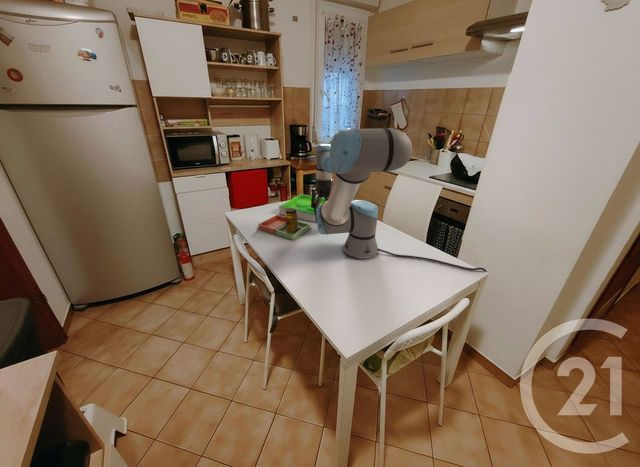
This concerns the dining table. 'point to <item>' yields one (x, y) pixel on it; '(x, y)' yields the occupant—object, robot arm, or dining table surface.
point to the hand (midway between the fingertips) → (323, 222)
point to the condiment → (291, 221)
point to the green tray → (292, 236)
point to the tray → (301, 207)
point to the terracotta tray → (272, 224)
